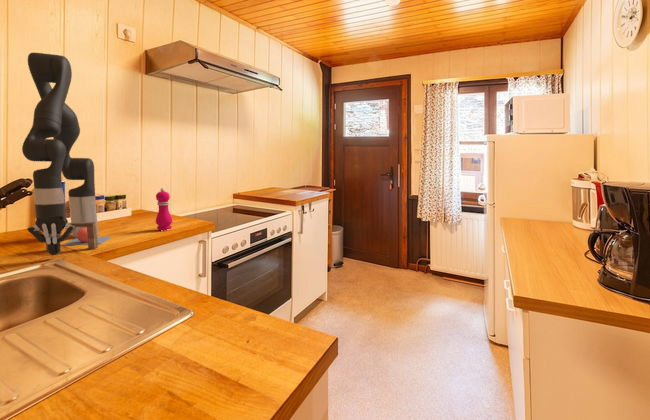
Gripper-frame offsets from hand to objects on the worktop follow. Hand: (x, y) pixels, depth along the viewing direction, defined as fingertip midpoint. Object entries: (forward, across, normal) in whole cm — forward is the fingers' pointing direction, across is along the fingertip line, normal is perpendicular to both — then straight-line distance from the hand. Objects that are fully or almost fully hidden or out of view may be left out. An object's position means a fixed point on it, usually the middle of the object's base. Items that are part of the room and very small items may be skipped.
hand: (54, 254), depth 112 cm
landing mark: (+2, 0, -27) cm, 27 cm away
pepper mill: (+2, -25, -46) cm, 52 cm away
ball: (-2, 0, -24) cm, 24 cm away
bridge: (+2, 0, -13) cm, 13 cm away
